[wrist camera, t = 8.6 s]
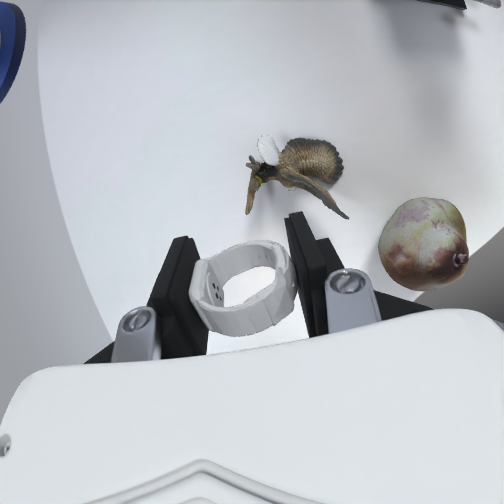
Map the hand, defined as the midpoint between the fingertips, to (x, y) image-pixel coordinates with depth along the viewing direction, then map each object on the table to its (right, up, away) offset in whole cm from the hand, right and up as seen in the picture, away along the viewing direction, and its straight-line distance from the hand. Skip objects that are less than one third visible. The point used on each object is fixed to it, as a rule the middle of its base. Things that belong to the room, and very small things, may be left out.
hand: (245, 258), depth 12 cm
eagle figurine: (+4, +8, +15) cm, 18 cm away
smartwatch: (0, 0, 0) cm, 1 cm away
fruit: (+18, +3, +19) cm, 26 cm away
